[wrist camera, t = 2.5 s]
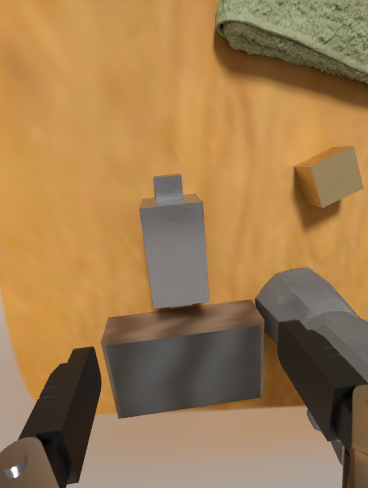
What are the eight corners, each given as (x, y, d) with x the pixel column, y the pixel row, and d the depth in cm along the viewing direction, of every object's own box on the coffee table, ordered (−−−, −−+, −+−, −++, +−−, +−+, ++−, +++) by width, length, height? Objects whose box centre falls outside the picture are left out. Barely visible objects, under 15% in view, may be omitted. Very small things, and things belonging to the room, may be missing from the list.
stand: (250, 299, 29) (266, 322, 25) (251, 369, 33) (264, 400, 29) (108, 317, 29) (100, 345, 24) (123, 387, 32) (118, 422, 28)
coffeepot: (227, 328, 30) (314, 544, 13) (251, 254, 28) (398, 406, 11) (342, 345, 33) (540, 547, 16) (374, 279, 30) (654, 435, 13)
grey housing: (192, 172, 25) (201, 175, 20) (202, 293, 29) (210, 320, 24) (140, 177, 24) (135, 182, 20) (156, 299, 28) (156, 327, 24)
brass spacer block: (331, 147, 25) (353, 145, 22) (341, 185, 26) (363, 188, 24) (293, 166, 25) (310, 167, 23) (305, 202, 27) (322, 208, 24)
